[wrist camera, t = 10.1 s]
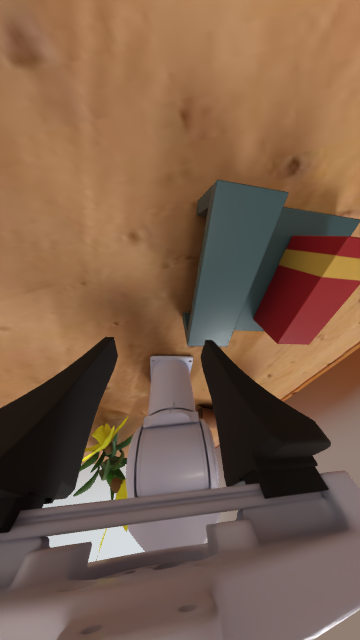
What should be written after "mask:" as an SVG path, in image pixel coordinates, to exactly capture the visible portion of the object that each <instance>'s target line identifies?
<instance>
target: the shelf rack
mask: <svg viewBox="0 0 360 640" xmlns="http://www.w3.org/2000/svg"><path fill="white" fill-rule="evenodd" d="M287 196H288V192H284V191H279V190H273V189H268V188H262V187H257V186H251V185H245V184H240V183H234V182H229V181H223V180H217V181H216V182H215V183H214V184H213V185H212V186H211V187H210V188H209V189H208V190H207V191H206V193H205V194H204V195H203V196H202V197H201V198H200V199H199V200H198V207H197V215H198V216H205V217H207V219H206V225H205V231H204V237H203V243H202V249H201V255H200V261H199V267H198V272H197V278H196V284H195V290H194V296H193V302H192V308H191V313H183V324H184V329H185V335H186V341H187V345H188V346H204V343H205V340H213V341H214V342H215V343H216V344H217V345H218V346H220V347H227V346H228V344H229V341H230V339H231V336H232V334H233V331H234V330H245V331H264V330H263V329H262V328H261V327H260V326H259V325H258V324H257V323H256V322H255V321H254V320H253V318H254V316H255V314H256V312H257V310H258V308H259V306H260V303H261V301H262V299H263V297H264V295H265V293H266V291H267V289H268V287H269V284H270V282H271V280H272V278H273V276H274V274H275V272H276V270H277V267H278V264H279V262H280V260H281V258H282V256H283V254H284V252H285V250H286V248H287V246H288V244H289V242H290V240H291V238H292V236H351V235H352V233H353V232H354V230H355V229H356V227H357V226H358V224H359V223H360V219H354V218H347V217H341V216H335V215H329V214H323V213H317V212H311V211H305V210H299V209H293V208H287V207H283V206H284V203H285V201H286V198H287Z"/></svg>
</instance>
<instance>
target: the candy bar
mask: <svg viewBox="0 0 360 640" xmlns="http://www.w3.org/2000/svg"><path fill="white" fill-rule="evenodd" d="M359 285H360V238H358V237H351V236H292V238H291V240H290V242H289V244H288V246H287V248H286V250H285V252H284V254H283V256H282V258H281V260H280V262H279V264H278V267H277V270H276V272H275V274H274V276H273V278H272V280H271V282H270V284H269V287H268V289H267V291H266V293H265V295H264V297H263V299H262V301H261V303H260V306H259V308H258V310H257V312H256V314H255V316H254V318H253V320H254V321H255V322H256V323H257V324H258V325H259V326H260V327H261V328H262V329H263V330H264V331H265V332H266V333H267V334H268V335H269V336H270V337H271V338H272V339H273V340H274V341H275V342H276V343H277V344H307V345H309V344H310V343H311V342H312V340H313V339H314V338H315V337H316V336H317V334H318V333H319V332H320V331H321V330H322V329H323V327H324V326H325V325H326V324H327V323H328V321H329V320H330V319H331V318H332V317H333V315H334V314H335V313H336V312H337V311H338V310H339V308H340V307H341V306H342V305H343V304H344V302H345V301H346V300H347V299H348V298H349V297H350V295H351V294H352V293H353V292H354V291H355V289H356V288H357V287H358V286H359Z"/></svg>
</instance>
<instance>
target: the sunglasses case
mask: <svg viewBox="0 0 360 640" xmlns="http://www.w3.org/2000/svg"><path fill="white" fill-rule="evenodd" d="M195 410H196V412H198V416H199V419H204V421H205V422H206V423H207V424H208V425H209V427H210V428H212V429H217V424H216V419H215V413H214V409H208V408H202V407H201V406H197V407H196V408H195Z"/></svg>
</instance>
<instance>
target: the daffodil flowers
mask: <svg viewBox="0 0 360 640" xmlns="http://www.w3.org/2000/svg"><path fill="white" fill-rule="evenodd" d="M128 416H129V415H128ZM128 416H127V418H128ZM127 418H126V419H125V420H124V421H123V422H122V423H121V424H120V426H119V427H118V428H117V429H116V430H115V431H114V426H113V427H112V429H110V427H109V425H108V424H107V423H106V424H105V427H104V426H102V425H101V426H100V427H99V428H97V430H95V432H93V434H92V436H93V437H94V438H95V439H96V440H97V441H98V442H99V443H98V444H96V445H94V446H92V447H90V448H86V449H85V451H93V452H92V453H91V454H89V455H88V456H86V457H85V458H84V459H82V461H85V460H87V459H88V458H89V457H90V456H92V455H93V454H94V453H95V454H94V455H93V456H92V457H91V458H90V459H88V460H87V461H86V462H85V463H84V464H83V465H82V466H81V467H80V470H79V471H81V470H83V469H85V468H87V467H88V466H90V465H91V464H93V463H94V462H95V461H96V460H97V459H98V457H99V451H101V450H103V453H102V455H101V457H100V458H99V460H98V461H97V463H96V464H95V465H94V467H93V469H92V470H91V472H93V471H94V470H95V469H96V468H97V467H98V470H97V471H96V473H95V474H94V476H93V477H92V478H91V479H90V480H89V481H88V482H87V483H86V484H85V485H84V486H82V487H81V488H80V489H79V490H78V491H77V492H76V493H75V494H74V495H73V496H77V495H79V494H81V493H83V492H85V491H86V490H88V489H89V488H90V487H91V486H92V484H93V483H94V482H95V480H96V477H97V476H98V473H99V475H100V477H101V480H107V482H108V484H109V486H110V490H111V500H113V498H114V493H117V494H116V499H115V500H118V499H127V489H126V479H125V477H124V475H123V473H122V472H121V470H120V469H119V468H121V467H123V466H125V464H127V458H124V452H123V451H122V450H121V449H122V448H124V447H126V446H127V445H129V444H130V443H131V440H132V437H133V435H134V434H133V435H132V436H131V437H129V438H128V439H126V440H125V441H124V442H122V443H120V444H118V445H116V444H117V432H118V431H119V430H120V429H121V427H122V426H123V425H124V424H125V422H126V420H127ZM113 432H114V433H113ZM114 436H115V437H114ZM113 437H114V440H113V443H112V444H111V443H110V442H111V440H112V439H113ZM117 450H119V451H120V452H121V456H120V457H116V456H115V455H116V451H117ZM111 453H112V454H111ZM105 456H107V457H109V459H107V460H105V461H104V462H102V461H103V459H104V457H105ZM100 466H101V467H102V470H100V471H99V469H100ZM123 527H124V529H125V531H127V529H128V525H125V526H123ZM106 530H107V529H106ZM106 530H105V532H106ZM104 536H105V534H104ZM104 536H103V538H102V541H103V539H104ZM102 541H101V544H100V548H101V545H102Z"/></svg>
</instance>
